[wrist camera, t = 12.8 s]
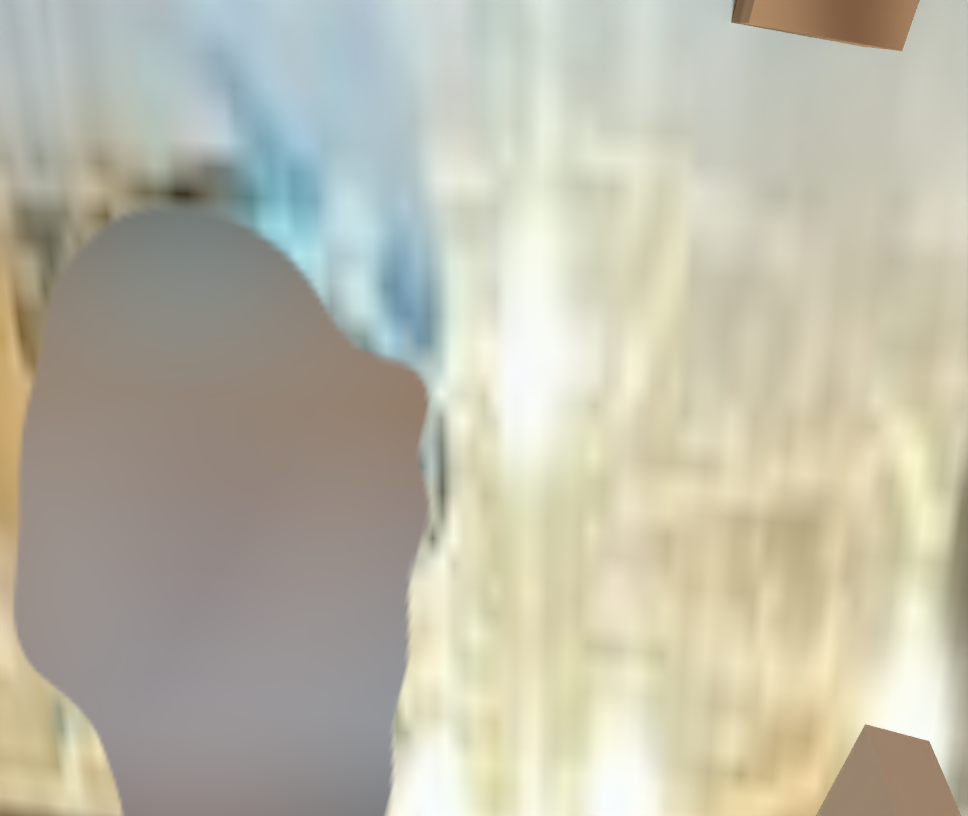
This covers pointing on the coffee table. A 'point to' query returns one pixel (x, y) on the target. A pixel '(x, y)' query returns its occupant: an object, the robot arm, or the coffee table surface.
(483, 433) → the coffee table surface
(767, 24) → the crate
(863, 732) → the robot arm
